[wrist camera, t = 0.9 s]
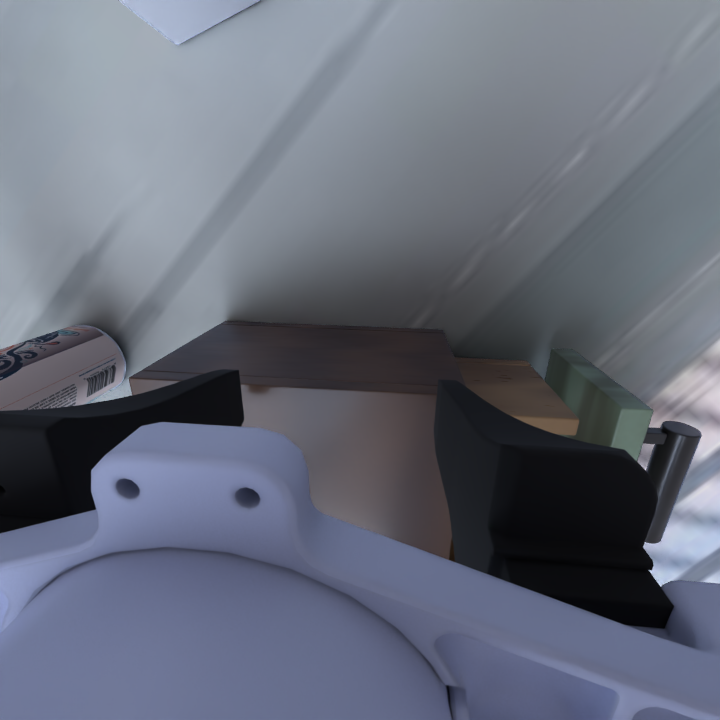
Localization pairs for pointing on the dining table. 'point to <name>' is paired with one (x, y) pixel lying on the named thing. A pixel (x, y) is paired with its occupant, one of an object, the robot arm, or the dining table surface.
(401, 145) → the dining table surface
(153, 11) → the gable box
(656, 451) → the green-fronted drawer
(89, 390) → the spice jar
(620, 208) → the dining table surface
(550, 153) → the dining table surface
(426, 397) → the cabinet
